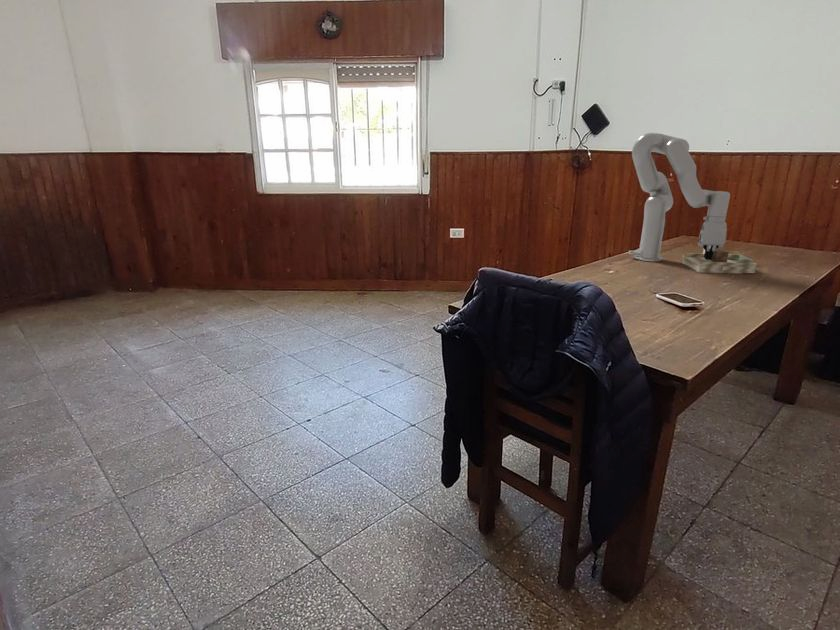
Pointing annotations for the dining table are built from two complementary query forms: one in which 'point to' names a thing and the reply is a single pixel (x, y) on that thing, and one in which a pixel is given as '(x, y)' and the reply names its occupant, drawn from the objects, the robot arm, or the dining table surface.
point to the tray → (719, 264)
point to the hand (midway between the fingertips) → (707, 259)
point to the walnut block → (720, 256)
